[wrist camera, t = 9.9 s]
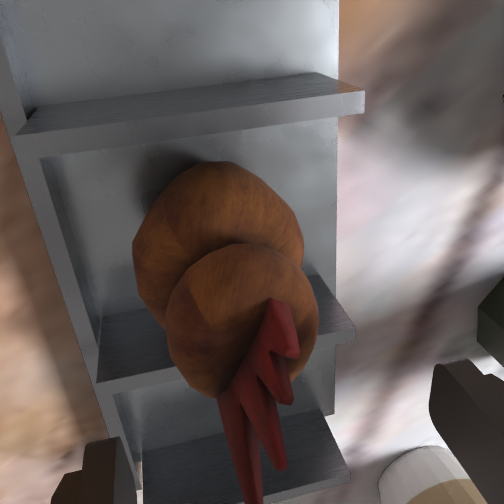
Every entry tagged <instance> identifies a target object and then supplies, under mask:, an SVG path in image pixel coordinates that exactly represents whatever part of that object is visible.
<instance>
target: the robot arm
mask: <svg viewBox="0 0 504 504" xmlns="http://www.w3.org/2000/svg"><path fill="white" fill-rule="evenodd" d="M429 413H430V417H431V420H432V422H433V425H434V426H435V428H436V430H437V431H438V433H439V434H440V436H441V437H442V439H443V440H444V441H445V443H446V444H447V446H448V447H449V449H450V450H451V452H452V453H453V454H454V456H455V457H456V459H457V460H458V462H459V463H460V465H461V466H462V467H463V469H464V470H465V472H466V473H467V475H468V476H469V478H470V479H471V480H472V482H473V483H474V485H475V486H476V488H477V489H478V491H479V492H480V493H481V495H482V496H483V498H484V499H485V501H486V502H487V503H488V504H504V381H503V380H501V379H500V378H498V377H496V376H494V375H493V374H487V375H483V374H482V372H481V371H480V370H479V369H478V368H477V367H476V366H475V365H474V364H473V363H472V362H471V361H470V360H469V359H467V358H461V359H456V360H452V361H448V362H443V363H439V364H436V365H435V367H434V371H433V378H432V385H431V392H430V399H429ZM51 504H137V494H136V486H135V480H134V476H133V473H132V470H131V467H130V464H129V461H128V458H127V455H126V452H125V449H124V446H123V443H122V440H121V438H120V437H119V436H118V437H113V438H109V439H105V440H100V441H96V442H92V443H88V444H86V446H85V450H84V458H83V466H82V470H79V471H75V472H71V473H67V474H64V476H63V478H62V480H61V482H60V483H59V485H58V487H57V489H56V491H55V492H54V494H53V496H52V498H51Z"/></svg>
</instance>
